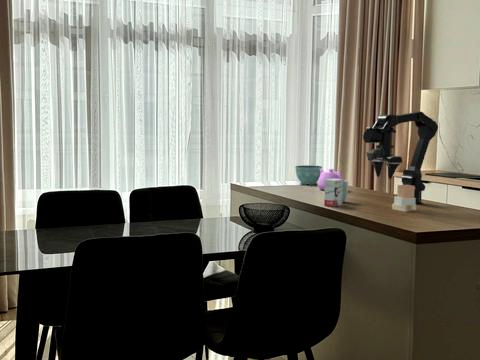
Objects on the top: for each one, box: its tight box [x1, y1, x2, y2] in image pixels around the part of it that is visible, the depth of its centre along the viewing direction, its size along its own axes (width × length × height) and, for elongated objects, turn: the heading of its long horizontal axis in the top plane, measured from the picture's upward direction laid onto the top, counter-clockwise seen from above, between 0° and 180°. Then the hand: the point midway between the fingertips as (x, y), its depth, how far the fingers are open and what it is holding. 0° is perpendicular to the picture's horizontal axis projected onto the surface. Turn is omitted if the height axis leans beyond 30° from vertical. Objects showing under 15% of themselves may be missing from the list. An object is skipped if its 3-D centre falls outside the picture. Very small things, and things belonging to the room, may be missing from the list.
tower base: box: [391, 202, 417, 213], centre depth 240 cm, size 7×7×3 cm
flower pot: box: [294, 165, 323, 186], centre depth 338 cm, size 16×16×11 cm
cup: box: [342, 179, 349, 203], centre depth 261 cm, size 8×8×10 cm
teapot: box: [317, 168, 344, 191], centre depth 309 cm, size 20×13×12 cm, turn 27°
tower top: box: [393, 195, 416, 205], centre depth 240 cm, size 6×6×3 cm
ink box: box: [323, 178, 344, 208], centre depth 250 cm, size 9×5×12 cm, turn 143°
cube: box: [396, 184, 415, 198], centre depth 239 cm, size 5×5×5 cm
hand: (383, 177), depth 251 cm, fingers open, 9 cm apart
